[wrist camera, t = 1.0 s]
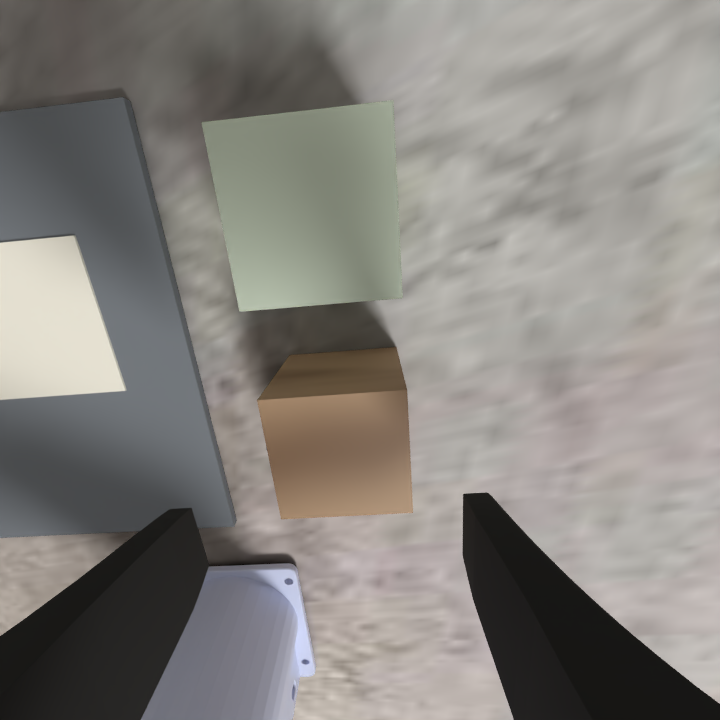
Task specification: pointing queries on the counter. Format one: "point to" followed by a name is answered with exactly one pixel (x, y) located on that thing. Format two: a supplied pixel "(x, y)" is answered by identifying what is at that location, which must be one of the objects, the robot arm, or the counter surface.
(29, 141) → the mat
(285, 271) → the sage block
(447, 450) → the counter surface
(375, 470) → the walnut block
